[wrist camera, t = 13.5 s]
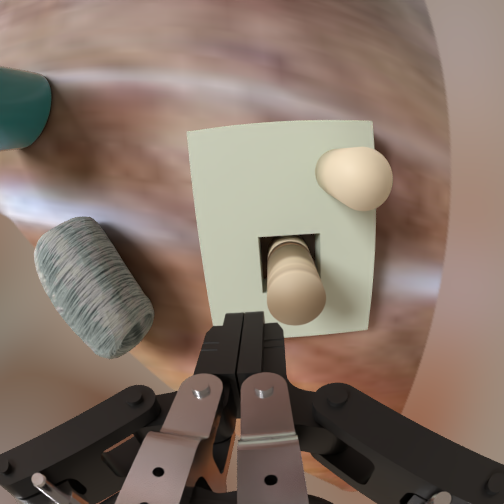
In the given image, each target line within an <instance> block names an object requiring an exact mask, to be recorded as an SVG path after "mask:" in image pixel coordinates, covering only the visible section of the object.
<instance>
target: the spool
mask: <svg viewBox="0 0 504 504" xmlns="http://www.w3.org/2000/svg"><path fill="white" fill-rule="evenodd" d="M34 259H35V265H36V270H37V273H38V275H39V278H40V281H41V284H42V286H43V288H44V290H45V292H46V293H47V295H48V296H49V298H50V300H51V302H52V303H53V305H54V307H55V308H56V310H57V311H58V313H59V314H60V315H61V316H62V318H63V319H64V320H65V322H66V323H67V324H68V325H69V326H70V327H71V328H72V330H73V331H74V332H75V333H76V334H77V335H78V336H79V337H80V338H81V339H82V340H83V342H85V344H87V345H88V346H89V347H90V348H91V349H92V350H93V352H94V353H95V354H97V355H99V356H101V357H104V358H108V359H113V358H118V357H120V356H122V355H124V354H126V353H127V352H128V351H130V350H131V349H133V348H134V347H135V346H136V345H137V344H139V343H140V342H141V340H142V339H143V338H144V336H145V335H146V334H147V333H148V331H149V330H150V328H151V326H152V323H153V319H154V309H153V306H152V304H151V301H150V299H149V298H148V297H147V296H145V294H144V293H143V291H142V289H141V287H140V286H139V285H138V283H137V282H136V280H135V279H134V277H133V276H132V274H131V273H130V271H129V270H128V268H127V266H126V265H125V263H124V262H123V260H122V259H121V257H120V255H119V254H118V252H117V251H116V249H115V247H114V246H113V244H112V243H111V241H110V240H109V239H108V237H107V235H106V233H105V232H104V230H103V229H102V228H101V227H100V225H99V224H98V223H97V222H96V221H95V220H94V219H92V218H91V217H75V218H72V219H70V220H68V221H65V222H63V223H61V224H59V225H58V226H56V227H55V228H53V229H51V230H49V231H48V232H47V233H45V234H44V235H42V237H41V238H40V239H39V240H38V243H37V246H36V249H35V252H34Z"/></svg>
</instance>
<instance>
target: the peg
mask: <svg viewBox="0 0 504 504" xmlns="http://www.w3.org/2000/svg"><path fill="white" fill-rule="evenodd" d="M325 303H326V293H325V290H324V287H323V284H322V282H321V279H320V277H319V274H318V272H317V269H316V267H315V264H314V262H313V259H312V257H311V254H310V252H309V249H308V247H307V244H306V242H305V241H304V240H303V239H302V238H301V237H300V236H299V235H283V236H276V237H275V238H274V239H273V240H272V241H271V242H270V244H269V247H268V264H267V306H268V309H269V311H270V313H271V315H272V316H273V317H274V318H275V319H276V320H278V321H279V322H281V323H283V324H286V325H293V326H297V325H303V324H306V323H309V322H311V321H313V320H314V319H315V318H317V317H318V316H319V315H320V313H321V312H322V310H323V309H324V306H325Z"/></svg>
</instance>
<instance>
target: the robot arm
mask: <svg viewBox="0 0 504 504" xmlns="http://www.w3.org/2000/svg"><path fill="white" fill-rule="evenodd" d="M203 343H204V344H203V345H202V348H201V352H200V355H199V358H198V361H197V365H196V368H195V371H194V375H193V376H191V377H189V378H187V379H186V380H185V381H183V383H182V384H181V385H180V388H179V390H178V391H175V392H172V393H166V394H161V395H155V393H154V391H153V390H152V389H151V388H149V387H147V386H144V385H134V386H131V387H128V388H126V389H124V390H122V391H121V392H119V393H117V394H115V395H114V396H112V397H110V398H109V399H107V400H105V401H103V402H101V403H100V404H98V405H96V406H94V407H92V408H91V409H89V410H87V411H85V412H83V413H81V414H80V415H78V416H76V417H74V418H72V419H70V420H69V421H67V422H65V423H63V424H61V425H59V426H57V427H55V428H53V429H51V430H50V431H48V432H46V433H44V434H42V435H40V436H38V437H36V438H34V439H32V440H30V441H28V442H26V443H24V444H21V445H20V446H17V447H15V448H13V449H11V450H9V451H7V452H5V453H2V454H1V455H0V485H1V486H2V487H3V488H4V489H6V490H7V491H8V492H9V493H11V495H12V496H13V497H14V498H15V500H16V502H17V504H96V503H98V502H100V501H102V500H104V499H106V498H107V497H109V496H111V495H113V494H114V493H116V492H118V491H119V490H121V491H120V492H118V493H116V494H114V495H113V496H111V497H110V498H108V499H107V500H105V501H103V502H101V503H100V504H333V503H331V502H329V501H327V500H325V499H322V498H319V497H316V496H313V495H308V494H307V488H306V482H305V476H304V470H303V464H302V458H301V452H300V451H305V452H310V453H311V455H312V456H313V457H314V458H315V459H316V460H317V461H319V462H320V463H321V464H322V465H324V466H325V467H326V468H328V469H329V470H330V471H332V472H333V473H334V474H336V475H337V476H338V477H340V478H341V479H342V480H344V481H345V482H346V483H348V484H349V485H351V486H352V487H353V488H355V489H356V490H358V491H359V492H361V493H362V494H364V495H365V496H366V497H368V498H370V499H371V500H373V501H374V502H376V503H377V504H504V465H503V464H500V463H498V462H495V461H493V460H491V459H489V458H487V457H484V456H482V455H480V454H478V453H476V452H473V451H471V450H469V449H467V448H465V447H463V446H461V445H459V444H457V443H454V442H453V441H451V440H449V439H447V438H445V437H443V436H441V435H439V434H437V433H435V432H433V431H431V430H429V429H427V428H425V427H423V426H421V425H419V424H418V423H416V422H414V421H412V420H410V419H408V418H406V417H405V416H403V415H401V414H399V413H397V412H396V411H394V410H392V409H390V408H388V407H387V406H385V405H383V404H381V403H380V402H378V401H376V400H374V399H373V398H371V397H369V396H368V395H366V394H364V393H362V392H361V391H359V390H357V389H356V388H354V387H352V386H350V385H348V384H344V383H331V384H327V385H325V386H322V387H321V388H319V389H318V390H317V391H316V392H312V391H306V390H302V389H299V388H297V387H295V386H293V385H292V384H291V383H290V382H289V380H288V379H287V375H286V361H285V346H284V332H283V329H282V327H281V326H280V325H279V324H278V323H265V318H264V311H256V312H245V313H244V312H240V313H226V314H225V318H224V322H223V326H213V327H212V328H211V329H210V330H209V331H208V332H207V333H206V336H205V339H204V342H203ZM236 418H241V438H240V440H238V446H237V450H238V451H237V491H232V492H227V485H226V478H227V473H228V468H229V464H230V459H231V454H232V450H233V446H234V441H235V435H236V434H235V424H236ZM131 434H134V437H132V438H131V439H129V440H127V441H126V442H124V443H122V444H121V445H119V446H118V447H116V448H114V449H113V450H111V451H109V452H104V451H105V450H106V449H108V448H110V447H111V446H113V445H114V444H116V443H118V442H120V441H121V440H123V439H125V438H126V437H128V436H130V435H131Z"/></svg>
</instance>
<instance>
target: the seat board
mask: <svg viewBox="0 0 504 504" xmlns="http://www.w3.org/2000/svg"><path fill="white" fill-rule="evenodd" d="M187 141H188V151H189V161H190V170H191V179H192V188H193V196H194V204H195V212H196V219H197V227H198V234H199V241H200V248H201V255H202V262H203V268H204V274H205V281H206V287H207V293H208V299H209V305H210V311H211V316H212V322H213V326H223V322H224V318H225V314H226V313H240V312H244V313H245V312H256V311H264V318H265V323H278V324H279V325H280V326H281V327H282V329H283V332H284V338H286V337H300V336H313V335H324V334H334V333H344V332H353V331H361V330H368V323H369V314H370V306H371V296H372V285H373V272H374V257H375V234H376V208H377V207H379V206H380V205H382V204H383V203H384V202H385V201H386V199H387V198H388V196H389V194H390V192H391V189H392V184H393V175H392V170H391V167H390V165H389V163H388V161H387V160H386V159H385V157H384V156H383V155H382V154H381V153H379V152H378V151H376V150H374V136H373V124H372V121H360V120H303V121H281V122H265V123H253V124H242V125H233V126H224V127H216V128H208V129H201V130H195V131H188V132H187ZM299 234H315V267H316V269H317V272H318V274H319V277H320V279H321V282H322V284H323V287H324V290H325V293H326V303H325V306H324V309H323V310H322V312H321V313H320V315H319V316H318V317H317V318H315V319H314V320H313V321H311V322H309V323H306V324H303V325H297V326H293V325H286V324H283V323H281V322H279V321H278V320H276V319H275V318H274V317H273V316H272V315H271V313H270V311H269V309H268V306H267V278H266V279H263V268H262V256H261V244H260V237H268V236H283V235H299Z"/></svg>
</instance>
